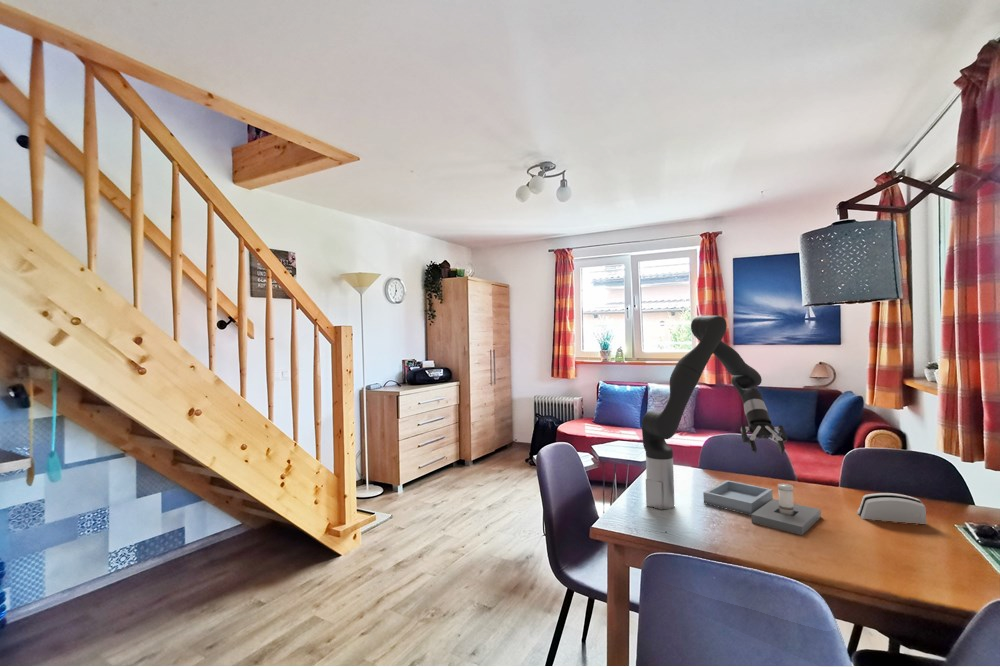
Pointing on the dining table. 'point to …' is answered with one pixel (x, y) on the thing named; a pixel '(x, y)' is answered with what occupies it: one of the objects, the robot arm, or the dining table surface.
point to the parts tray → (738, 496)
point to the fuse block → (786, 517)
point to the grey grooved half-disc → (892, 508)
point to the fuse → (785, 499)
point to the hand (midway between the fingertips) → (768, 451)
